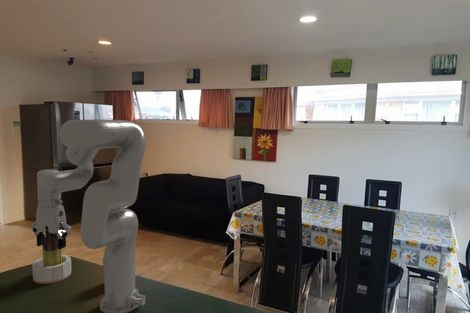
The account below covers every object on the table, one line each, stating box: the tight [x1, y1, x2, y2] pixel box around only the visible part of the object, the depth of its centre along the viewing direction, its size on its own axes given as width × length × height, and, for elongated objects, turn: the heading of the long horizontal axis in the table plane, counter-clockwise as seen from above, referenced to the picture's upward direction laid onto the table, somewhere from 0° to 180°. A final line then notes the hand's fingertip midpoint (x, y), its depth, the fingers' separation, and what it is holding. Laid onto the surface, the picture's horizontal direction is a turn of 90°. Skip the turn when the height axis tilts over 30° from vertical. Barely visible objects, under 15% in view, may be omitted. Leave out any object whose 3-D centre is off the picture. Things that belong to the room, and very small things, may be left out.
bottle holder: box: [31, 253, 72, 285], centre depth 123 cm, size 13×13×6 cm
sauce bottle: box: [41, 226, 63, 267], centre depth 122 cm, size 7×6×20 cm
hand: (51, 246), depth 122 cm, fingers open, 9 cm apart
